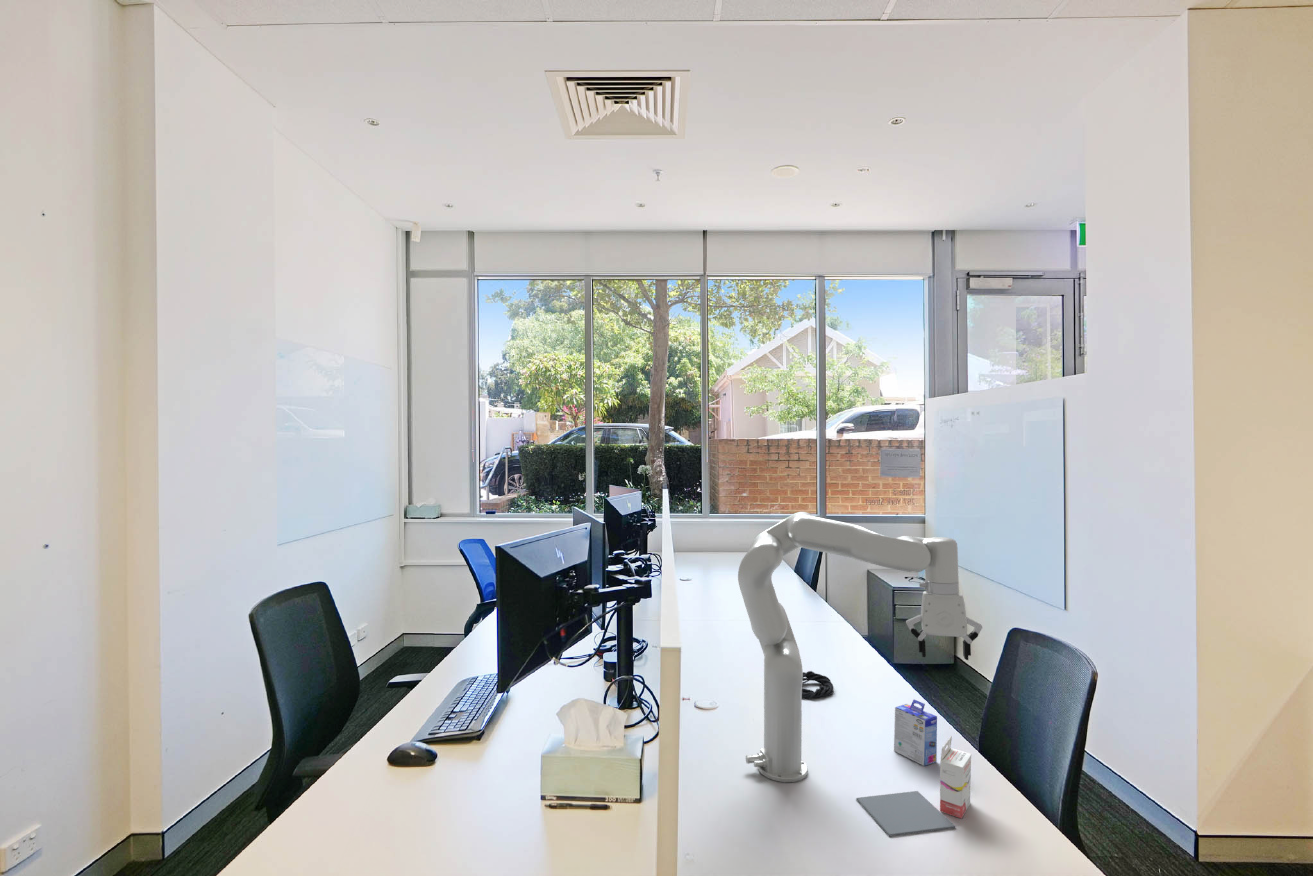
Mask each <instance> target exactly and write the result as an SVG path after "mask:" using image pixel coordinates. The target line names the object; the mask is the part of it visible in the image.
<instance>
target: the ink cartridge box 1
mask: <svg viewBox="0 0 1313 876" xmlns="http://www.w3.org/2000/svg"><path fill="white" fill-rule="evenodd" d="M916 704H917V705H919V706H920V707H918V706H916ZM925 706H926V703H924V702H922V701H919V700H916V699H913V700H912V703H911V704H908V703H905V704H902V705H898V706H896V707H894V734H893V736H894V737H893V741H894V742H893V752H895V753H898V754H899V755H901V756H903V757H905V758H908V759H910V760H912V761H913V762H915V763H918V764H920V765H921V766H923V767H924V766H928V765H930V764H931V765H932V764H934V763H935V764H936V763H937V757H938V756H937V753H938V752H937V749H938V748H937V747H938V745H937V744H938V743H937V741H938V740H937V738H938V716H937V715H935V714H932V713H930V712H928V711H925V710H924V709H925Z"/></svg>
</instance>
